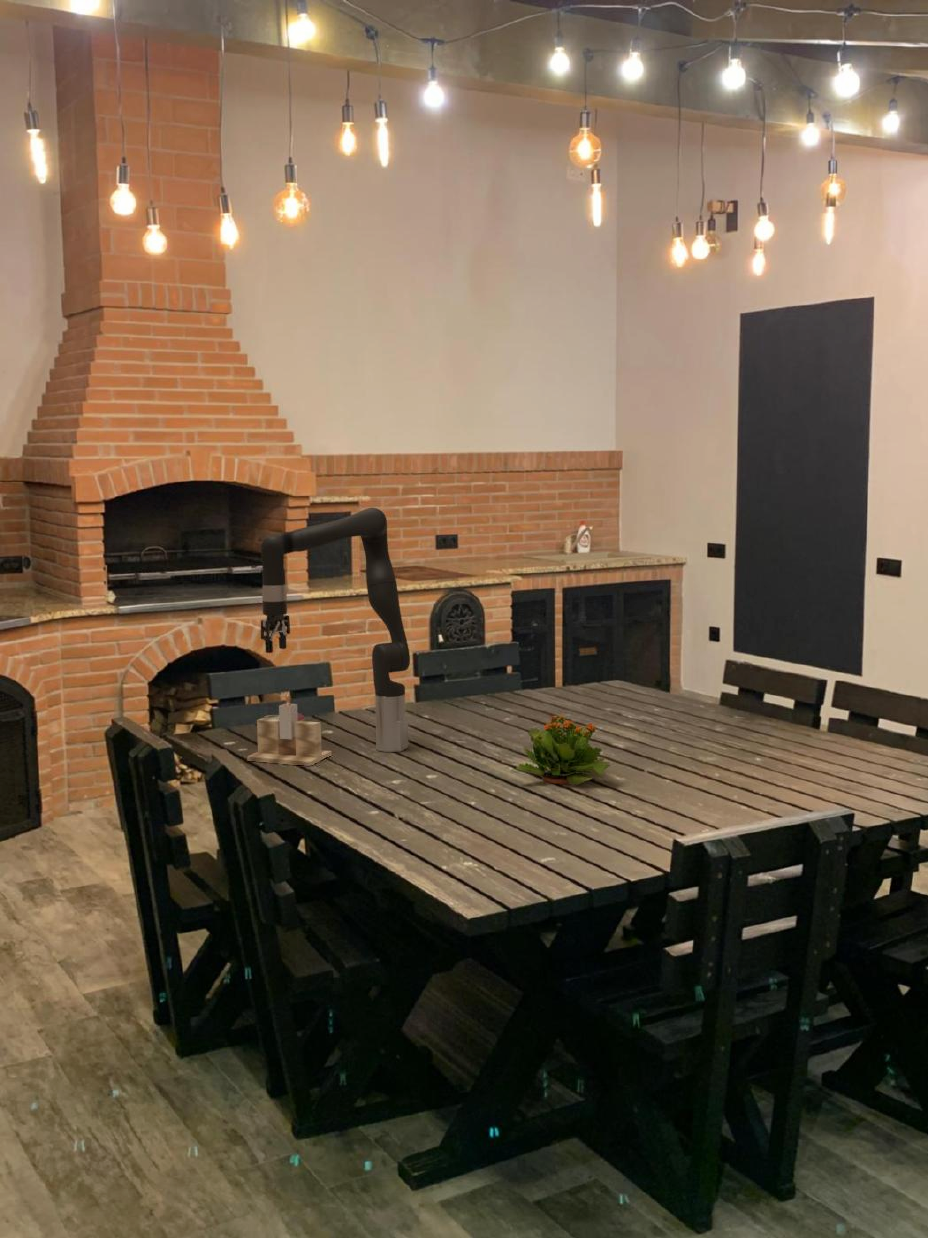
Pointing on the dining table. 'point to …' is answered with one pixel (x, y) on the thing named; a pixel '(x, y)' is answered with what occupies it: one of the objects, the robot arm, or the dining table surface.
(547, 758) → the potted flower
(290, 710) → the grey square bottle
